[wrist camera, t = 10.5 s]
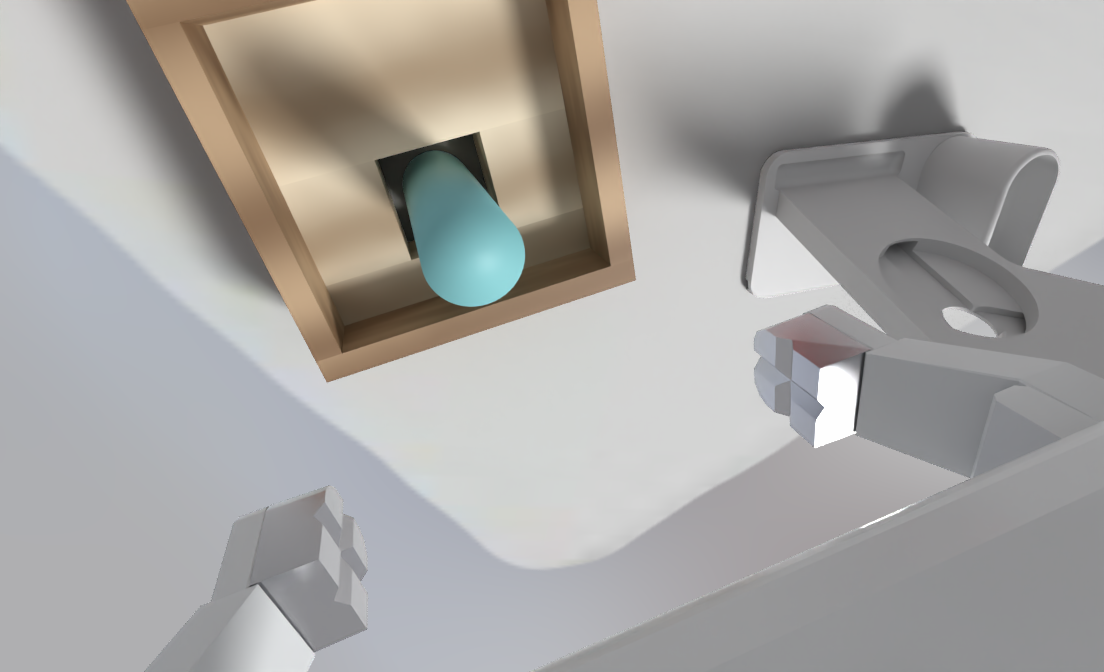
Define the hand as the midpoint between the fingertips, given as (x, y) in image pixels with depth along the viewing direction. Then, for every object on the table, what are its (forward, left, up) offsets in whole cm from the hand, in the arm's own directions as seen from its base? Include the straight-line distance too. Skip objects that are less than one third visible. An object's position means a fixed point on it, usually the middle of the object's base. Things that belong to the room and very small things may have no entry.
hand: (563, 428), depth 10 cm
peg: (0, 0, -22) cm, 22 cm away
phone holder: (+10, +28, -22) cm, 37 cm away
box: (-2, 0, -22) cm, 22 cm away
